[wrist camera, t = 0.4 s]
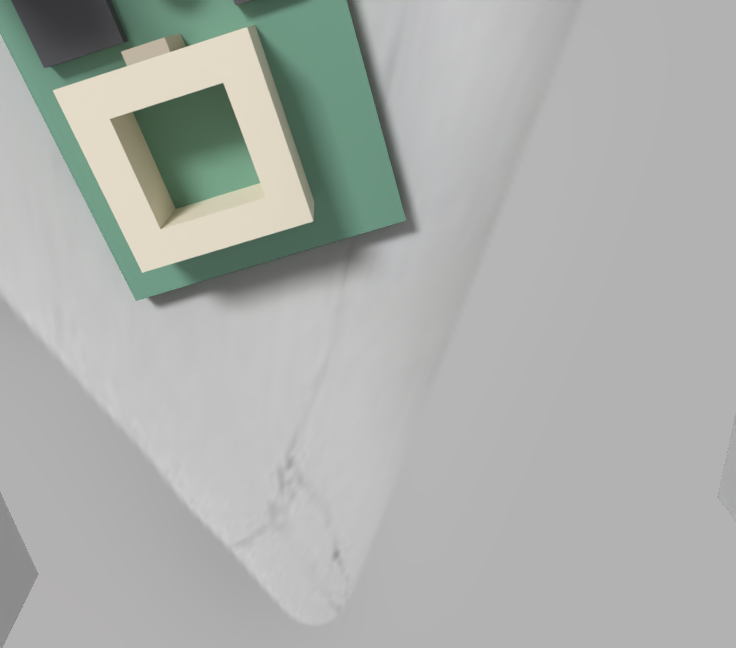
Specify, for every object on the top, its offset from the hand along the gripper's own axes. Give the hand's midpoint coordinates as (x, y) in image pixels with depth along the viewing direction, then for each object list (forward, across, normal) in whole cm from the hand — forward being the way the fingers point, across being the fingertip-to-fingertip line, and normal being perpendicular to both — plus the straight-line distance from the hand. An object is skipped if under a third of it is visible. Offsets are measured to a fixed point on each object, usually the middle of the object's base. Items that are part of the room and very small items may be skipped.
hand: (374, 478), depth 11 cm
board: (+26, -6, +4) cm, 27 cm away
